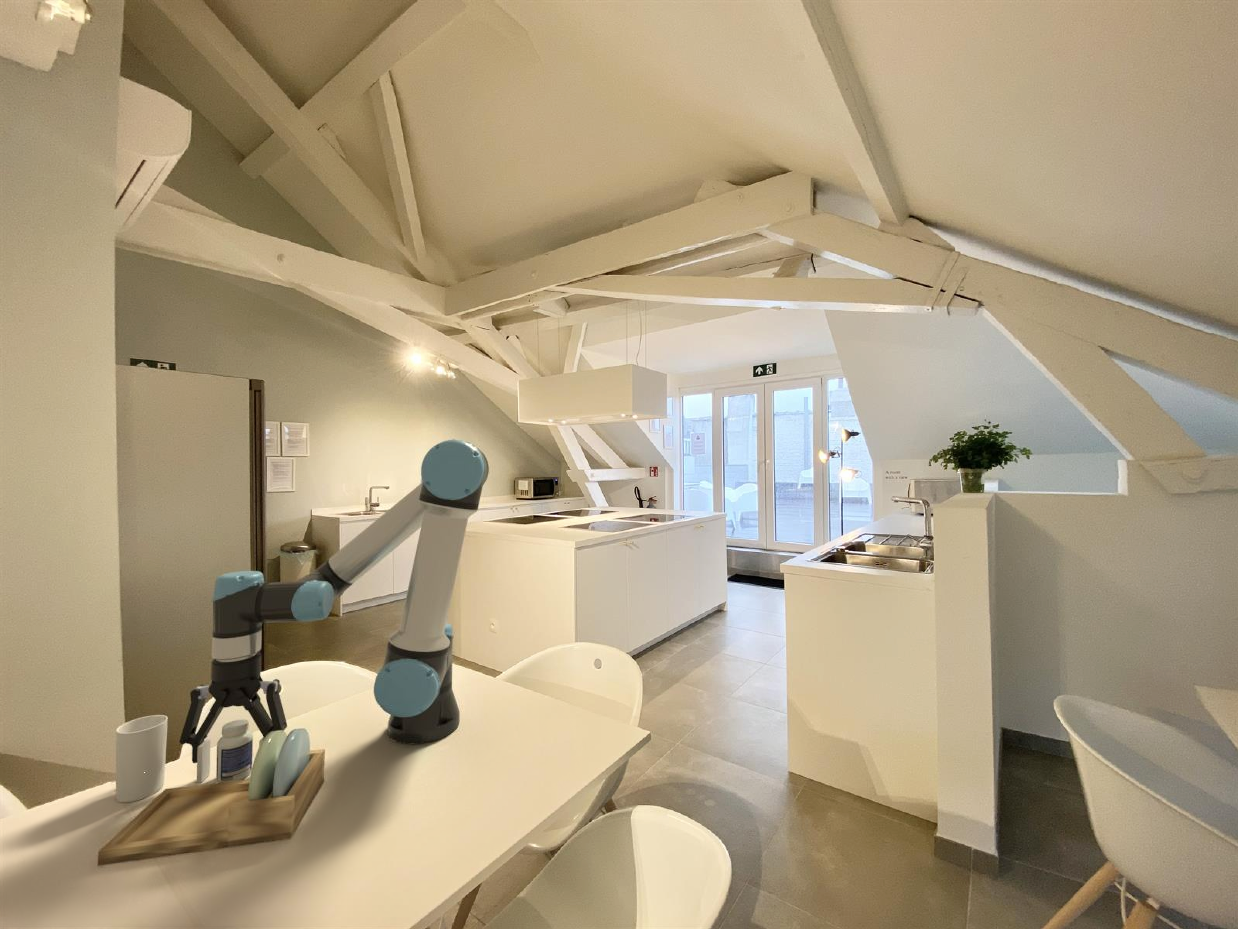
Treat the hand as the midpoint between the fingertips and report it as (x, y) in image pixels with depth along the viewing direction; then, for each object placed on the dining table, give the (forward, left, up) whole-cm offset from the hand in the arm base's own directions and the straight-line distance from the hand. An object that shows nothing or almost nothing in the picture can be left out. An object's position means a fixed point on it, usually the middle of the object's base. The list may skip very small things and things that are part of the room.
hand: (234, 775), depth 95 cm
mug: (+14, 0, 0) cm, 14 cm away
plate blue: (-15, +13, 0) cm, 19 cm away
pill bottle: (0, 0, 0) cm, 0 cm away
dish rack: (-5, +13, 0) cm, 14 cm away
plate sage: (-11, +13, 0) cm, 17 cm away
